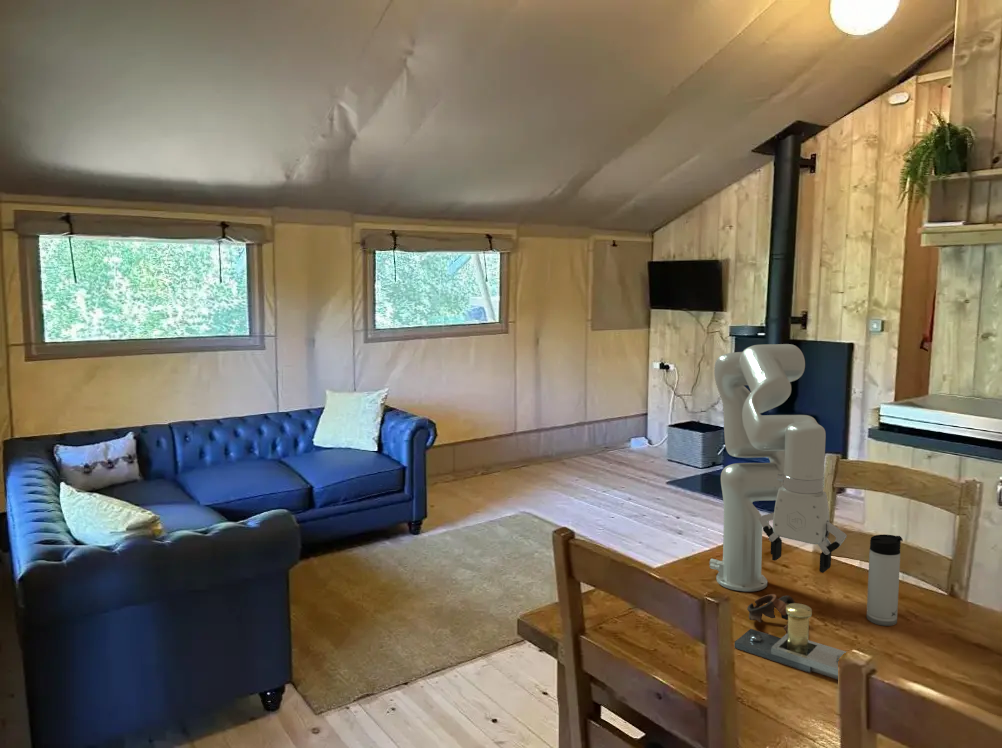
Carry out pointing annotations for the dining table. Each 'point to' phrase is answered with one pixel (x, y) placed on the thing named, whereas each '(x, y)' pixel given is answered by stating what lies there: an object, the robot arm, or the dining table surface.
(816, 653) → the grey plate with socket
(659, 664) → the dining table surface
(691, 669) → the dining table surface
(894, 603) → the travel mug
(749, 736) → the dining table surface
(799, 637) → the pin
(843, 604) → the dining table surface
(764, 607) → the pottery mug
